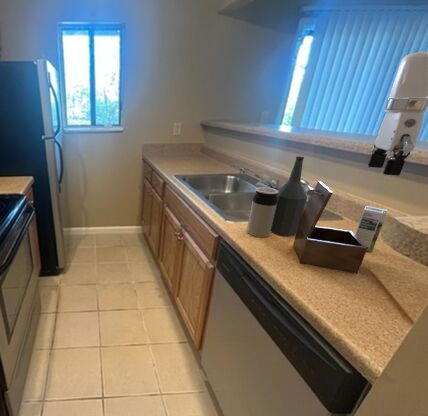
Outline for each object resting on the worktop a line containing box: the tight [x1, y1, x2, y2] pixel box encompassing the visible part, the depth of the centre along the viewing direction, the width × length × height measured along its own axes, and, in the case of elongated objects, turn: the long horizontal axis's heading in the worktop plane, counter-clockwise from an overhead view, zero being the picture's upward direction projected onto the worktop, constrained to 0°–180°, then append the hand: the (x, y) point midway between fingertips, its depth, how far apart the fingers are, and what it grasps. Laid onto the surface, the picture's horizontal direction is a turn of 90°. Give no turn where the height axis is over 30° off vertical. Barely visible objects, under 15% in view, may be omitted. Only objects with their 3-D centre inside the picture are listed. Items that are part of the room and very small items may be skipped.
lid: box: [298, 180, 334, 238], centre depth 87 cm, size 15×13×5 cm
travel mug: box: [246, 186, 279, 238], centre depth 105 cm, size 8×8×18 cm
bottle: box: [270, 155, 308, 237], centre depth 105 cm, size 10×10×30 cm
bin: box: [292, 225, 367, 275], centre depth 89 cm, size 15×13×9 cm
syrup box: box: [354, 205, 389, 253], centre depth 95 cm, size 6×6×14 cm
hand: (382, 170), depth 77 cm, fingers open, 9 cm apart
